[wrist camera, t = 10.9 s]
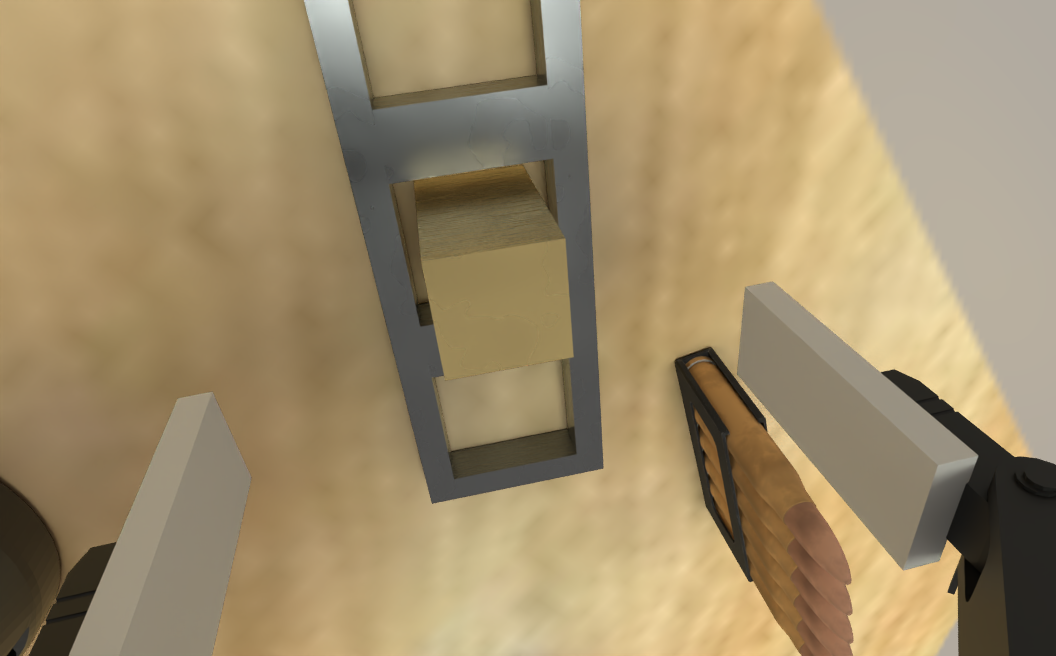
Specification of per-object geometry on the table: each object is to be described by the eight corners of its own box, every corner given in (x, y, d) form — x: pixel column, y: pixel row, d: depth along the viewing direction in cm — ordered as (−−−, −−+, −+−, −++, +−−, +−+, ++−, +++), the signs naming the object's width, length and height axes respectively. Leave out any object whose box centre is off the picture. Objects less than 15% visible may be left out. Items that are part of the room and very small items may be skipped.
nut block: (432, 278, 25) (445, 380, 19) (413, 180, 23) (420, 262, 17) (531, 261, 26) (573, 357, 20) (522, 164, 24) (565, 238, 18)
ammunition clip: (673, 358, 30) (819, 575, 19) (711, 345, 30) (877, 555, 19) (706, 507, 35) (832, 735, 25) (738, 496, 35) (876, 718, 25)
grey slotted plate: (430, 475, 30) (432, 503, 29) (274, -150, 18) (263, -158, 16) (593, 442, 31) (603, 468, 30) (555, -178, 19) (570, -188, 17)
